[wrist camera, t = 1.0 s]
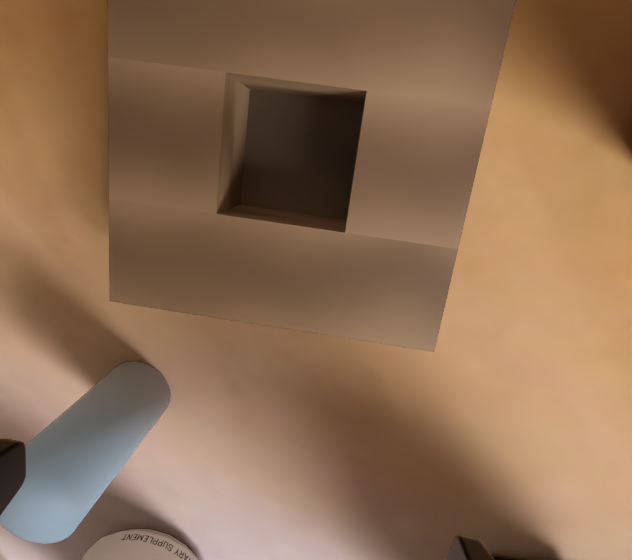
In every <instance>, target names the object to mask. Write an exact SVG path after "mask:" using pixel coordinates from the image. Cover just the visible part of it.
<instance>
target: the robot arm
mask: <svg viewBox="0 0 632 560" xmlns="http://www.w3.org/2000/svg"><path fill="white" fill-rule="evenodd" d="M25 477H26V447H25V445H24V443H22V442H20V441H16V440H11V439H0V516H1V514H2V513H3V511H4V510H5V509H6V507H7V506H8V505H9V503H10V502H11V500H12V499H13V498H14V496H15V495H16V494H17V492H18V491H19V489H20V488H21V486H22V485H23V483H24V480H25ZM447 560H511V559H505V558H500V557H492V556H491V555H490V553H489V552H488V551H487V550H486V548H485V547H484V546H483V545H482V544H481V542H480V541H479V540H477V539H475V538H472V537H467V536H462V535H457V536H456V537H455V538H454V540H453V543H452V546H451V549H450V552H449V555H448V558H447Z"/></svg>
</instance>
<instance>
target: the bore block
mask: <svg viewBox="0 0 632 560" xmlns="http://www.w3.org/2000/svg"><path fill="white" fill-rule="evenodd" d="M515 1H516V0H108V134H109V275H110V301H111V302H118V303H124V304H131V305H137V306H143V307H150V308H156V309H163V310H169V311H175V312H182V313H188V314H194V315H201V316H207V317H214V318H220V319H226V320H233V321H239V322H246V323H252V324H258V325H265V326H271V327H278V328H284V329H290V330H297V331H303V332H309V333H316V334H322V335H329V336H335V337H341V338H348V339H354V340H361V341H367V342H373V343H380V344H386V345H393V346H399V347H405V348H412V349H418V350H424V351H431V352H434V350H435V346H436V341H437V337H438V333H439V328H440V324H441V320H442V316H443V311H444V307H445V303H446V298H447V294H448V290H449V285H450V281H451V277H452V272H453V268H454V264H455V260H456V255H457V251H458V247H459V242H460V238H461V234H462V229H463V225H464V221H465V217H466V212H467V208H468V204H469V199H470V195H471V191H472V186H473V182H474V178H475V173H476V169H477V165H478V161H479V156H480V152H481V148H482V143H483V139H484V135H485V130H486V126H487V122H488V118H489V113H490V109H491V105H492V100H493V96H494V92H495V87H496V83H497V79H498V74H499V70H500V66H501V62H502V57H503V53H504V49H505V44H506V40H507V36H508V31H509V27H510V23H511V18H512V14H513V10H514V6H515Z"/></svg>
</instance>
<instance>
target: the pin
mask: <svg viewBox="0 0 632 560" xmlns="http://www.w3.org/2000/svg"><path fill="white" fill-rule="evenodd" d="M169 401H170V389H169V386H168V383H167V381H166V380H165V378H164V377H163V375H162V374H161V373H160V372H159V371H158V370H156V369H155V368H153V367H152V366H150V365H148V364H145V363H142V362H135V361H133V362H125V363H122V364H120V365H118V366H117V367H116V368H114V369H113V370H112V371H111V372H110V373H109V374H107V375H106V376H105V377H104V378H103V379H102V380H101V381H99V382H98V383H97V384H96V385H95V386H94V387H92V388H91V389H90V390H89V391H88V392H87V393H86V394H84V395H83V396H82V397H81V398H80V399H79V400H78V401H76V402H75V403H74V404H73V405H72V406H71V407H69V408H68V409H67V410H66V411H65V412H64V413H63V414H61V415H60V416H59V417H58V418H57V419H56V420H54V421H53V422H52V423H51V424H50V425H49V426H48V427H46V428H45V429H44V430H43V431H42V432H41V433H40V434H38V435H37V436H36V437H35V438H34V439H33V440H31V441H30V442H29V443H28V444H27V445H26V446H25V447H26V477H25V480H24V483H23V485H22V486H21V488H20V489H19V491H18V492H17V494H16V495H15V496H14V498H13V499H12V500H11V502H10V503H9V505H8V506H7V507H6V509H5V510H4V511H3V513H2V514H1V516H0V524H1V525H2V526H3V527H4V528H5V529H6V530H8V531H9V532H11V533H12V534H14V535H16V536H17V537H19V538H22V539H24V540H27V541H30V542H34V543H42V544H48V543H55V542H59V541H62V540H64V539H66V538H67V537H69V536H70V535H71V534H72V533H73V532H74V531H75V529H76V528H77V527H78V525H79V524H80V523H81V521H82V520H83V519H84V517H85V516H86V515H87V513H88V512H89V511H90V509H91V508H92V507H93V505H94V504H95V503H96V501H97V500H98V499H99V497H100V496H101V495H102V493H103V492H104V491H105V489H106V488H107V487H108V485H109V484H110V483H111V481H112V480H113V479H114V477H115V476H116V475H117V473H118V472H119V471H120V469H121V468H122V467H123V466H124V464H125V463H126V462H127V460H128V459H129V458H130V456H131V455H132V454H133V452H134V451H135V450H136V448H137V447H138V446H139V444H140V443H141V442H142V440H143V439H144V438H145V436H146V435H147V434H148V432H149V431H150V430H151V428H152V427H153V426H154V424H155V423H156V422H157V420H158V419H159V418H160V416H161V415H162V414H163V412H164V411H165V410H166V408H167V407H168V404H169Z"/></svg>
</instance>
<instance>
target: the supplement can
mask: <svg viewBox="0 0 632 560" xmlns="http://www.w3.org/2000/svg"><path fill="white" fill-rule="evenodd" d="M81 560H199V559H198V558H197V557H196V556H195V555H194V553H193V552H192V551H191V550H190V549H189V548H188V547H187V546H186V545H185V544H183V543H182V542H180V541H179V540H177V539H175V538H174V537H172V536H171V535H168V534H165V533H162V532H158V531H155V530H152V529H129V530H126V531H120V532H117V533H114V534H111V535H108V536H104V537H102V538H101V539H100V540H98V541H97V542H96V543H95V544H94V545H93V546H91V547H90V548H89V549H88V551H87V552H86V553H85V555H84V556H83V558H82V559H81Z"/></svg>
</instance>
